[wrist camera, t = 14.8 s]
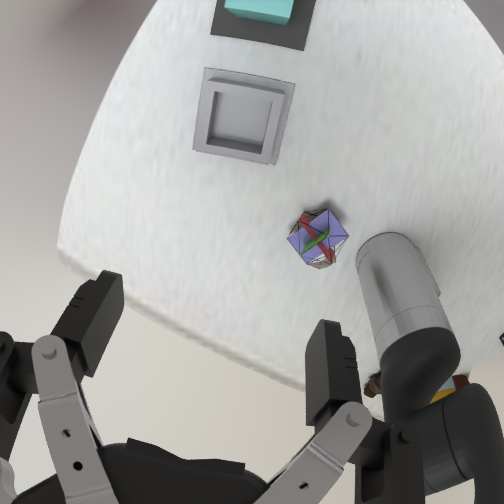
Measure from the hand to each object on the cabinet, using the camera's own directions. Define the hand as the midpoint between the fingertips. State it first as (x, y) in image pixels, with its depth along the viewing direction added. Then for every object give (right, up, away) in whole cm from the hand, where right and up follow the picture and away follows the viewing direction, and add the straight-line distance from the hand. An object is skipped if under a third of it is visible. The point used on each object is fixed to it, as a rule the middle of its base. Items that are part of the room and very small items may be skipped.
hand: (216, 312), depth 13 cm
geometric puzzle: (+10, +6, +30) cm, 32 cm away
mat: (+3, +29, +14) cm, 32 cm away
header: (0, +18, +22) cm, 28 cm away
